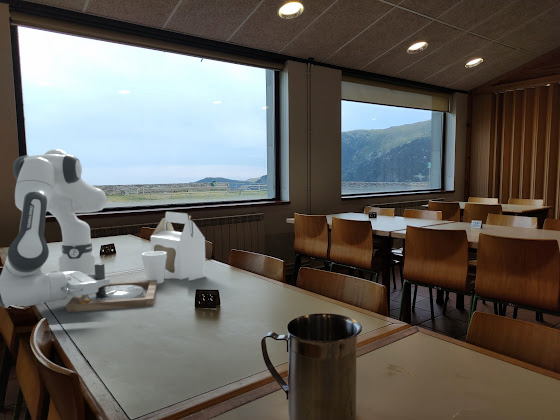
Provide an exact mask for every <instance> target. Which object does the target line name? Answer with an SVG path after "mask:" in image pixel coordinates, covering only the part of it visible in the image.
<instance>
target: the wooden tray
mask: <svg viewBox="0 0 560 420" xmlns="http://www.w3.org/2000/svg"><path fill="white" fill-rule="evenodd" d="M116 285H135V286H140V287H142V288H143V289H147V292H146V294H145V297H144V296H143V297H142V298H129V299H115V300H101V301H90V299H88V298H87V297H88V294H87V295H80V296H73V297H72V298H71V299H70V300H69V301H68V302H67V304H66V305H65V306H66V312H68V313H69V312H71V313H72V312H74V313H75V312H76V313H77V312H89V311H100V310H114V309H125V308H129V309H130V308H139V307H148V306H154V305H155V299H156V295H157V287H158V284H157V280H151V281H150V280H146V279H145V280H133V281H132V280H131V281H117V282H109V285H105V287H109V286H116Z"/></svg>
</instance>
